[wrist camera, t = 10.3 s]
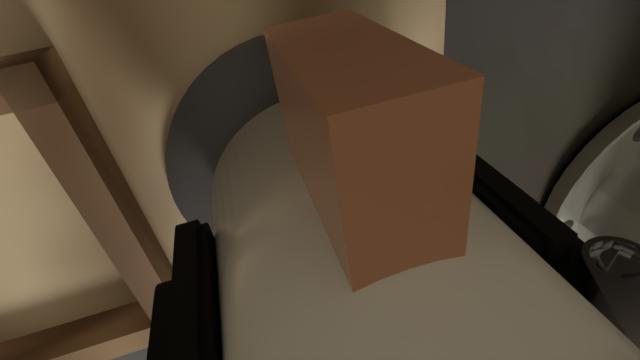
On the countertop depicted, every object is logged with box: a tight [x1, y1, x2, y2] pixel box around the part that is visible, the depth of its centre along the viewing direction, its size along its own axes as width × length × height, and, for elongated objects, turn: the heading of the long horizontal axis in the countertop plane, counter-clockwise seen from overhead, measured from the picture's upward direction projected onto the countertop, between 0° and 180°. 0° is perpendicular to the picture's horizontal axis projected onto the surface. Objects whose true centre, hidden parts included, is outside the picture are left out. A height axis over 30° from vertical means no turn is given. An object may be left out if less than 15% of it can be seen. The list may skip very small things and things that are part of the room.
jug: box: [212, 9, 640, 360], centre depth 8 cm, size 9×6×9 cm
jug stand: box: [0, 0, 446, 360], centre depth 13 cm, size 22×14×2 cm, turn 98°
